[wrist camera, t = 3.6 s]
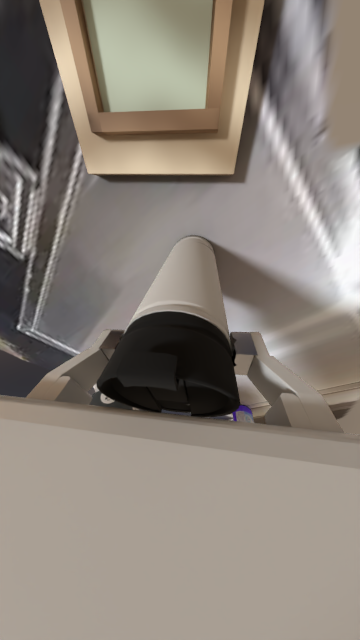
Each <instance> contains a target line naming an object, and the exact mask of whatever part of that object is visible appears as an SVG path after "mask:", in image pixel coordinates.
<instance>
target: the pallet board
mask: <svg viewBox="0 0 360 640" xmlns="http://www.w3.org/2000/svg"><path fill="white" fill-rule="evenodd" d="M39 1H40V4H41V8H42V12H43V15H44V19H45V22H46V26H47V29H48V33H49V36H50V40H51V43H52V47H53V51H54V54H55V58H56V61H57V65H58V68H59V72H60V75H61V79H62V82H63V86H64V90H65V93H66V97H67V100H68V104H69V107H70V111H71V114H72V118H73V121H74V125H75V129H76V132H77V136H78V139H79V143H80V146H81V150H82V153H83V157H84V160H85V164H86V168H87V171H88V174H93V175H233V174H234V169H235V164H236V158H237V152H238V147H239V141H240V136H241V130H242V124H243V119H244V113H245V107H246V102H247V96H248V91H249V85H250V79H251V74H252V68H253V62H254V57H255V51H256V45H257V40H258V34H259V29H260V23H261V17H262V12H263V6H264V0H39Z"/></svg>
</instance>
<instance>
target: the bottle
mask: <svg viewBox="0 0 360 640" xmlns="http://www.w3.org/2000/svg"><path fill="white" fill-rule="evenodd" d="M233 420H234V421H240V422H249V423H254V421H253V416H252V412H251V410H250V409H249V408H248V407H246V406H243V405H240V406H239V408H238V409H237V410H236V411H235V412H233Z"/></svg>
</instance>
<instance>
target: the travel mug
mask: <svg viewBox="0 0 360 640" xmlns="http://www.w3.org/2000/svg"><path fill="white" fill-rule="evenodd" d="M231 352H232V347H231V342H230V339H229V330H228V325H227V319H226V314H225V309H224V303H223V298H222V292H221V287H220V281H219V276H218V270H217V265H216V259H215V254H214V250H213V248H212V246H211V244H210V243H209V242H208V241H207V240H206V239H205V238H203V237H201V236H197V235H190V236H186V237H184V238H182V239H180V240H179V241H178V242H177V243H176V244H175V246H174V248H173V249H172V251H171V253H170V255H169V256H168V258H167V260H166V261H165V263H164V265H163V267H162V268H161V270H160V272H159V273H158V275H157V277H156V278H155V280H154V282H153V284H152V285H151V287H150V289H149V290H148V292H147V294H146V296H145V297H144V299H143V301H142V302H141V304H140V306H139V307H138V309H137V311H136V313H135V314H134V316H133V318H132V319H131V321H130V323H129V325H128V326H127V328H126V330H125V332H124V335H123V337H122V339H121V341H120V342H119V344H118V346H117V347H116V349H115V351H114V353H113V354H112V356H111V358H110V360H109V361H108V363H107V365H106V367H105V368H104V370H103V372H102V373H101V375H100V377H99V379H98V380H97V382H96V384H97V388H98V390H99V391H100V392H101V393H102V394H104V395H105V396H107V397H108V398H110V399H112V400H114V401H117V402H119V403H121V404H124V405H127V406H130V407H133V408H137V409H141V410H145V411H149V412H158V413H161V410H162V409H163V410H167V411H175V412H186V413H187V412H191V416H194V417H216V416H223V415H227V414H230V413H233V412H235V411H236V410H237V409H238V408H239V406H240V399H239V393H238V388H237V382H236V376H235V370H234V365H233V362H232V353H231Z"/></svg>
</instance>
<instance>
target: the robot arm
mask: <svg viewBox="0 0 360 640" xmlns="http://www.w3.org/2000/svg"><path fill="white" fill-rule="evenodd" d="M124 332H125V330H109V329H106V330H104V331H103V332H102V334H101V335H100V336H99V338H98V339H97V340H96V342H95V343H94V344H93V346H92V347H91V348H90V349H87V350H85V351H83V352H82V353H80V354H78V355H77V356H75V357H74V358H72V359H70V360H69V361H67V362H65V363H64V364H62V365H61V366H59V367H57V368H56V369H54V370H52V371H51V372H49V373H48V374H47V375H46V376H45V377H44V378H43V379H42V380H41V381H40V382H39V384H38V385H37V386H36V387H35V388H34V389H33V390H32V391H31V393H30V394H29V395H28V396H27V397H26V398H22V397H12V396H4V395H0V640H360V435H357V434H348V433H344V432H343V430H342V429H341V427H340V425H339V423H338V422H337V420H336V418H335V416H334V415H333V413H332V411H331V410H330V408H329V406H328V405H327V403H326V401H325V400H324V398H323V396H322V395H321V394H320V393H318V392H317V391H316V390H315V389H313V388H312V387H311V386H310V385H308V384H307V383H306V382H305V381H303V380H302V379H301V378H300V377H298V376H297V375H296V374H295V373H293V372H292V371H291V370H290V369H288V368H287V367H286V366H285V365H283V364H282V363H281V362H279V361H278V360H277V359H276V358H274V357H273V356H270V355H269V353H268V351H267V348H266V346H265V343H264V341H263V339H262V336H261V334H260V333H259V332H231V333H230V342H231V347H232V352H231V353H232V362H233V365H234V370H235V374H238V375H247V376H248V378H249V379H250V380H251V381H252V383H253V384H254V385H255V386H256V388H257V389H258V390H259V391H260V393H261V394H262V395H263V396H264V398H265V399H266V400H267V401H268V402H269V404H270V405H271V406H272V407H271V408H270V409H269V410H268V412H267V413H266V414H265V416H264V417H265V421H266V424H258V423H249V422H240V421H231V420H222V419H213V418H203V417H194V416H185V415H176V414H167V413H158V412H149V411H145V410H141V409H137V408H133V407H130V406H127V405H124V404H121V403H119V402H117V401H114V400H112V399H110V398H108V397H107V396H105V395H104V394H102V393H101V392H100V391H99V390H98V388H97V384H96V382H97V380H98V379H99V377H100V375H101V373H102V372H103V370H104V368H105V367H106V365H107V363H108V361H109V360H110V358H111V356H112V354H113V353H114V351H115V349H116V347H117V346H118V344H119V342H120V341H121V339H122V337H123V335H124ZM93 386H94V389H95V391H96V392H95V393H94V394H93V395H92V396H91V395H90V394H89V393H88V390H90V389H91V388H92V387H93Z"/></svg>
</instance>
